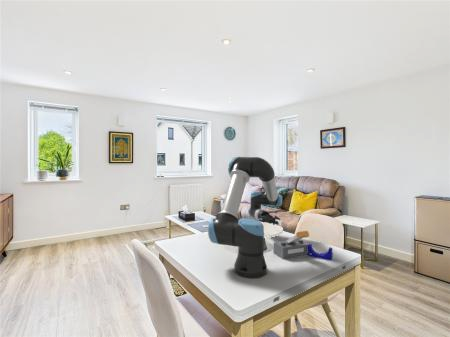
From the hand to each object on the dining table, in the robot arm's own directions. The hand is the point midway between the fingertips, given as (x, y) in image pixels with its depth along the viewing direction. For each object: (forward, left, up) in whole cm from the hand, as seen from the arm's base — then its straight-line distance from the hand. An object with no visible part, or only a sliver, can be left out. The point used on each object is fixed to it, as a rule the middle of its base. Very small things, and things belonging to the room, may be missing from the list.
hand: (282, 224), depth 141 cm
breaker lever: (+1, -9, -7) cm, 12 cm away
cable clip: (+15, -15, -15) cm, 26 cm away
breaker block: (+1, -9, -14) cm, 17 cm away
